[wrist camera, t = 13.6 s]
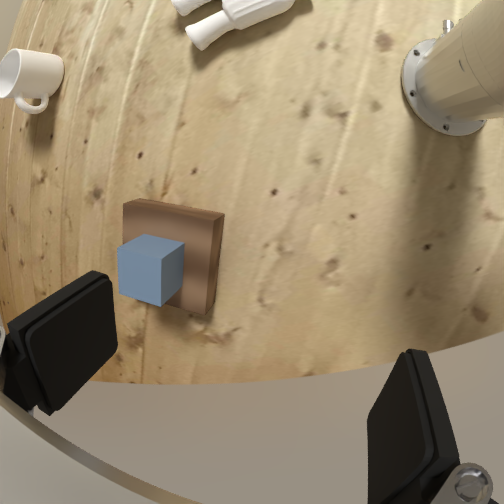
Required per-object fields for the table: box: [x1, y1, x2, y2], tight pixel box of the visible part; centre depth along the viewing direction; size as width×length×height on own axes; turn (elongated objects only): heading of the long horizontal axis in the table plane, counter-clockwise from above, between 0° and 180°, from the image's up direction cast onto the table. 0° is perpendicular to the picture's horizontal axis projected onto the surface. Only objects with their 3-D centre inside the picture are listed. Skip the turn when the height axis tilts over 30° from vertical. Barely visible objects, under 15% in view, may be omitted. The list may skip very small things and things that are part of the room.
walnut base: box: [123, 198, 224, 315], centre depth 42 cm, size 13×13×4 cm
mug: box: [0, 49, 64, 114], centre depth 35 cm, size 12×8×10 cm
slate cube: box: [117, 234, 185, 307], centre depth 37 cm, size 6×6×6 cm
